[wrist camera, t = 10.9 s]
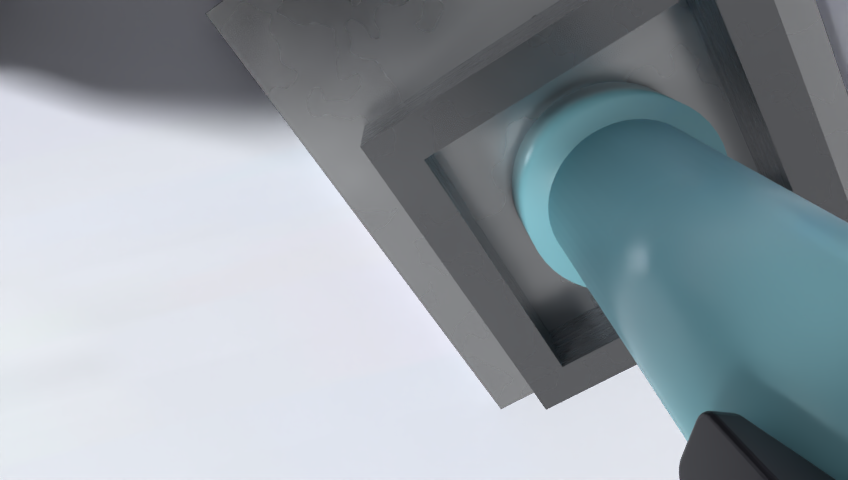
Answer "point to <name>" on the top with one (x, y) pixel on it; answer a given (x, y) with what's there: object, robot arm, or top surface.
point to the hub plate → (506, 128)
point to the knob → (695, 263)
